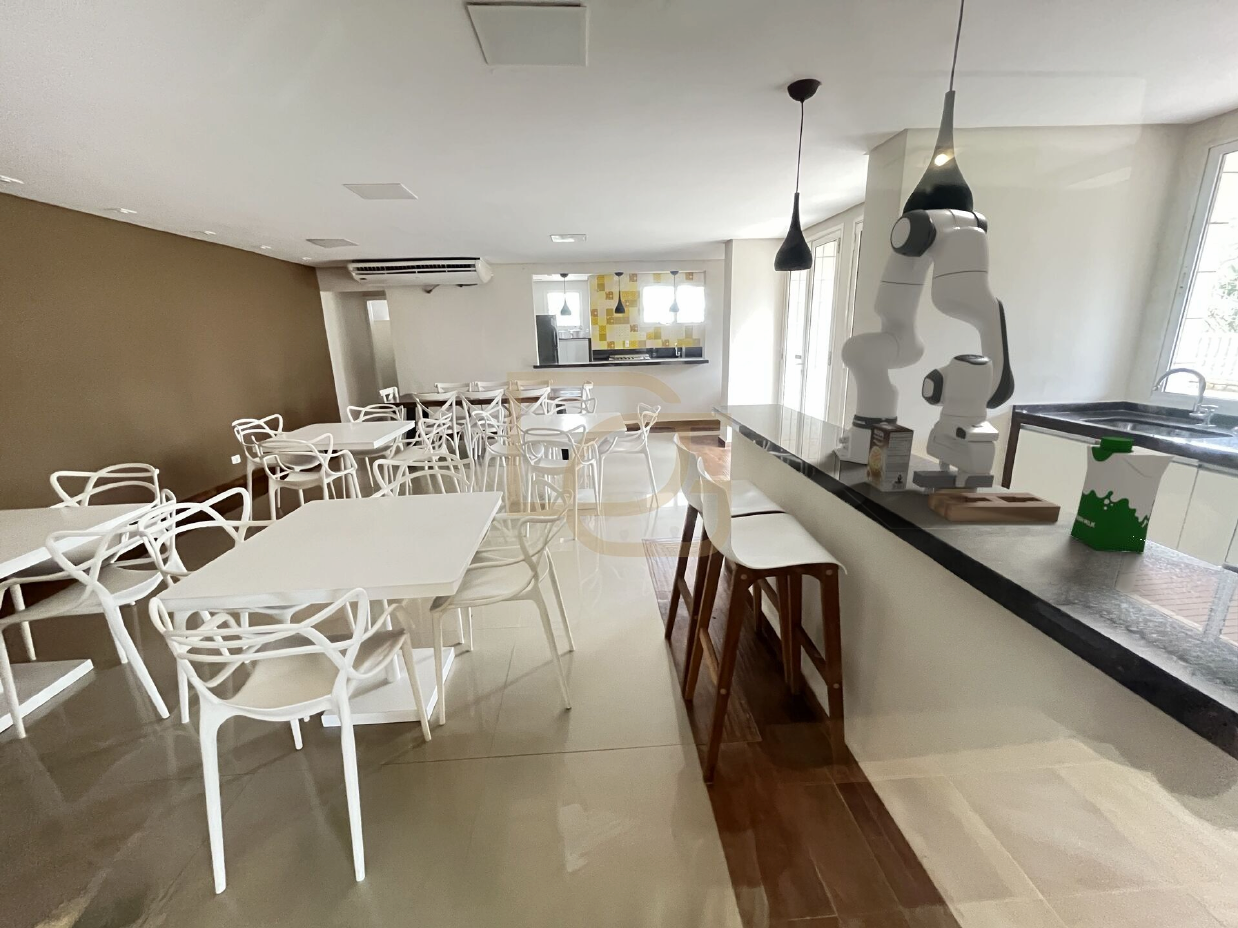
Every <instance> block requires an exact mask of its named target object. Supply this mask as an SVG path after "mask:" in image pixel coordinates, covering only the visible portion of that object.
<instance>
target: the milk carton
mask: <svg viewBox="0 0 1238 928" xmlns="http://www.w3.org/2000/svg"><path fill="white" fill-rule="evenodd" d="M1134 442H1135V440H1134V439H1133V438H1129V437H1123V436H1114V435H1113V436H1111V435H1109V436H1107V435H1105V436H1101V438H1100V442H1099V444H1091V445H1090V444H1088V445H1087V446H1086V449H1087V450H1086V451H1087V452H1086V454H1087V455H1086V456H1087V459H1086V461H1087V463H1086V464H1087V466H1086V467H1087V468H1086V473H1085V477H1084V482H1083V486H1082V491H1081V495H1080V500H1079V503H1078V508H1077V513H1076V515H1075V519H1074V522H1073V525H1072V528H1071V530H1070V536H1071V537H1073V538H1075V539H1076V538H1077V539H1076V540H1078V541H1080V542H1081V541H1082V543H1083V544H1085V545H1087V546H1088V545H1089V547H1090V548H1092V549H1094V550H1095V549H1096V550H1095V551H1100V550H1102V551H1103V550H1104V551H1105V552H1106V551H1107V552H1121V551H1130V552H1129V553H1141V554H1142V553H1144V551H1145V548H1146V547H1145V546H1146V539H1147V533H1148V530H1149V524H1150V519H1151V516H1152V512H1153V509H1154V504H1155V503H1156V502H1155V501H1156V497H1157V494H1158V491H1159V487H1160V484H1161V480H1162V477H1163V475H1164V473H1165V472H1166V471H1167V468H1168V466H1169V465H1170V463H1171V462H1172V460H1173V459H1174V455H1171V454H1169V453H1163V452H1161V451H1156V450H1153V449H1149V448H1146V447H1142V446H1137V445H1134ZM1133 536H1134V537H1133ZM1140 539H1142V540H1140ZM1144 540H1145V541H1144Z"/></svg>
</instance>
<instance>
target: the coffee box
mask: <svg viewBox="0 0 1238 928" xmlns="http://www.w3.org/2000/svg"><path fill="white" fill-rule="evenodd" d="M914 432H915V430H914V429H912V428H909V427H906V426H903V425H901V424H899V423H897V424H896V423H894V424H872V428H871V437H870V446H869V455H868V464H866V466H867V467H866V473H865V474H866V475H865V483H867V484H869V485H871V486H873V487H874V488H875V489H877V490H878V491H880V492H883V493H884V492H905V491H906V490H907V484H908V483H907V482H908V475H909V468H910V462H911V453H912V448H913V447H912V445H913V440H914Z"/></svg>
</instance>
